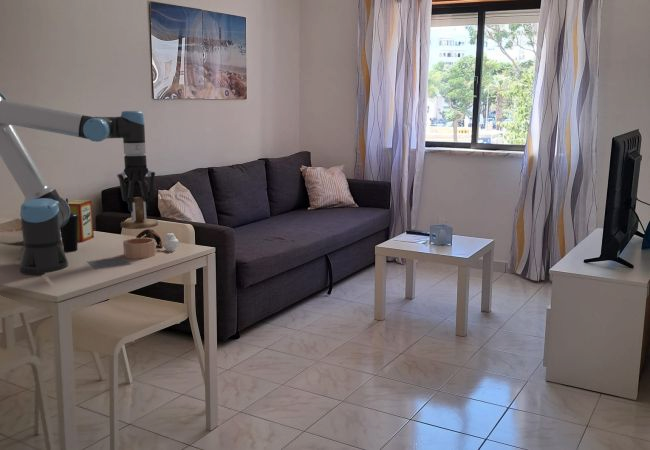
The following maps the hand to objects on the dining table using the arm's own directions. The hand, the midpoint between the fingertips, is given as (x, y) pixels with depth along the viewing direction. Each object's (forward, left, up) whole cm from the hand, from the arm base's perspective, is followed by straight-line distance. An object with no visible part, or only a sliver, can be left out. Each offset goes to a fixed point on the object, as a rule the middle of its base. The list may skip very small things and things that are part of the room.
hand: (139, 219), depth 240 cm
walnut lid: (0, 0, -2) cm, 2 cm away
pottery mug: (+8, +14, -14) cm, 22 cm away
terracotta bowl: (0, 0, -14) cm, 14 cm away
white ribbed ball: (+13, +4, -14) cm, 20 cm away
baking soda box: (-11, +43, -14) cm, 47 cm away
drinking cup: (-19, +25, -14) cm, 35 cm away
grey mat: (-13, -6, -14) cm, 20 cm away
